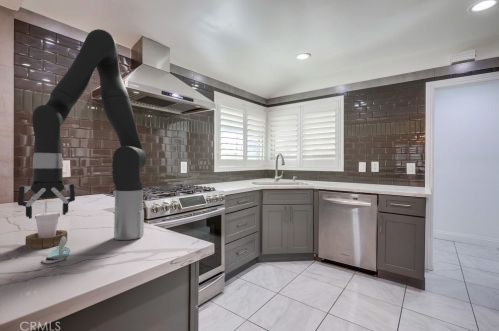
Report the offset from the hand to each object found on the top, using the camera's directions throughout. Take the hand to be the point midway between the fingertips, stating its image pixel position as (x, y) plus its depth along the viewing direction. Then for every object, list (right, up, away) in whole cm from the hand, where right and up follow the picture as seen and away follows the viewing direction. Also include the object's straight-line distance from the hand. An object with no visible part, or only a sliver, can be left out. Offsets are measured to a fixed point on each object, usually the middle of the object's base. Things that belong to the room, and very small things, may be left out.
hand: (47, 216), depth 78 cm
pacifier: (+13, -10, -13) cm, 21 cm away
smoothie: (0, -9, 0) cm, 9 cm away
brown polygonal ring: (0, -9, 0) cm, 9 cm away
